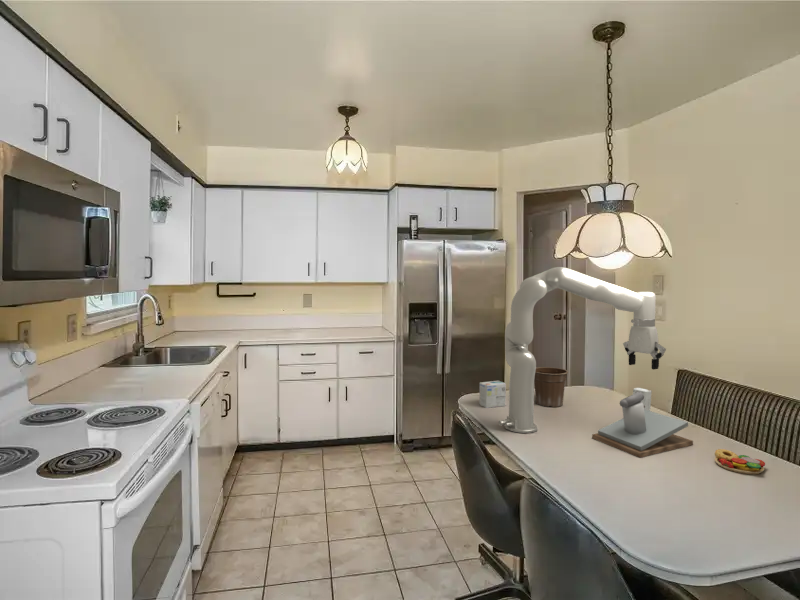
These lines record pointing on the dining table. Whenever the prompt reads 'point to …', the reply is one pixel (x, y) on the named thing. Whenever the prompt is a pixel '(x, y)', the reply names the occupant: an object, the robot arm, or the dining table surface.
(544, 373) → the plant pot
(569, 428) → the dining table surface
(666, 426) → the tilting top
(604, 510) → the dining table surface
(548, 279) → the robot arm
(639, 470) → the dining table surface
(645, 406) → the skincare box
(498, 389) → the light bulb box
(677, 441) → the walnut base
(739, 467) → the toy food set
